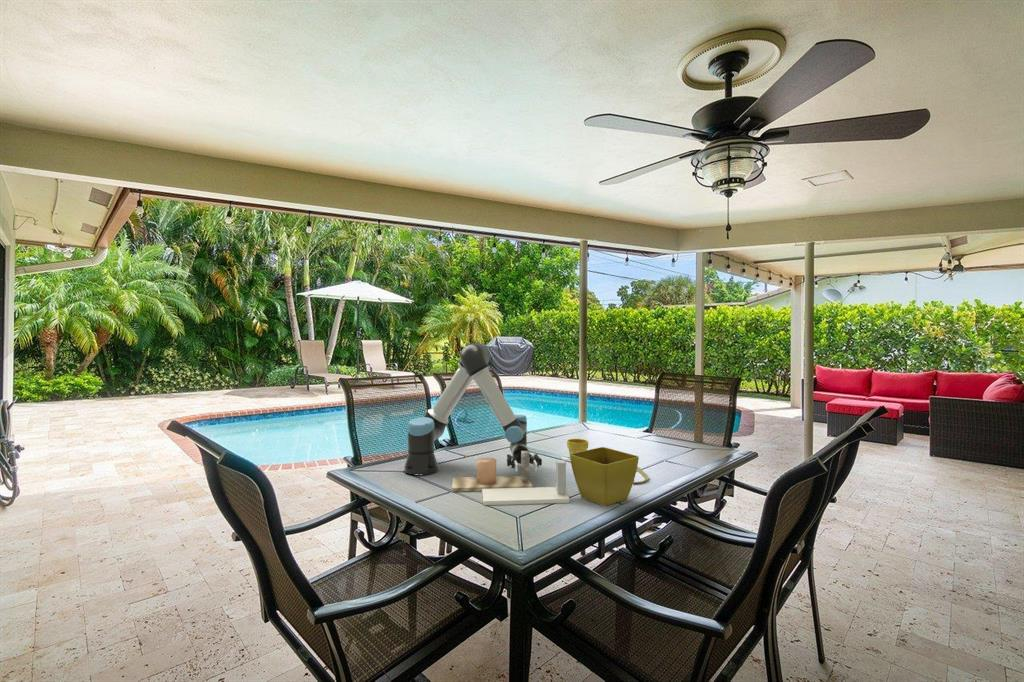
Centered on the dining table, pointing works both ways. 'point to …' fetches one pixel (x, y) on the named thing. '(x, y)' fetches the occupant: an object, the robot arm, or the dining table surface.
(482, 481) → the tan rounded cylinder
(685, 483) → the dining table surface
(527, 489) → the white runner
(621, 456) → the flower pot
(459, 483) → the oak runner
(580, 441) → the plant pot
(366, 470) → the dining table surface
